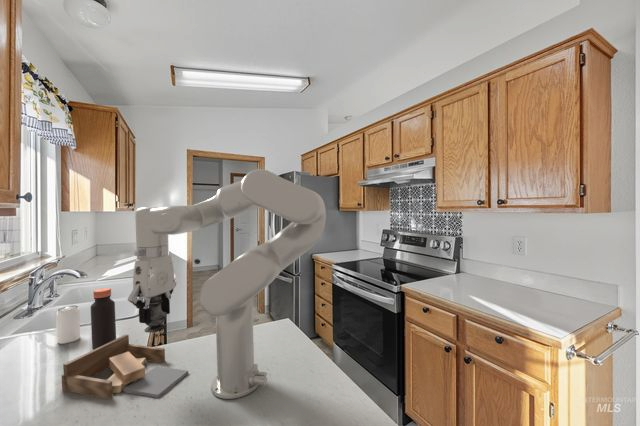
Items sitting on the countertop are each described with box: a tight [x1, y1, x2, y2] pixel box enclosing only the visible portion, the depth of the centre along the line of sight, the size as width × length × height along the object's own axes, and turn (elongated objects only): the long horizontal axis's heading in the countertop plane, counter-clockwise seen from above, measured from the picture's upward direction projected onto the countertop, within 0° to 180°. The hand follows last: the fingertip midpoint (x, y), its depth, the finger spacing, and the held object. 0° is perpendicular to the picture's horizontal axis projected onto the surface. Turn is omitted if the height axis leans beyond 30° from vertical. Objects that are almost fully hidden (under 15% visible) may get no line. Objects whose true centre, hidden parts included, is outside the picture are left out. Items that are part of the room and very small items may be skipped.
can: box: [55, 305, 81, 345], centre depth 107 cm, size 6×6×12 cm
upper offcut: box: [109, 351, 146, 385], centre depth 83 cm, size 5×14×2 cm, turn 49°
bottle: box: [90, 287, 117, 350], centre depth 102 cm, size 7×7×20 cm
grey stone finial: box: [143, 295, 168, 333], centre depth 80 cm, size 6×6×12 cm
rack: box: [61, 334, 166, 400], centre depth 85 cm, size 16×18×7 cm
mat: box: [123, 365, 189, 399], centre depth 80 cm, size 11×11×1 cm
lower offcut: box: [107, 358, 147, 394], centre depth 83 cm, size 5×14×2 cm, turn 7°
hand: (155, 317), depth 80 cm, fingers closed on grey stone finial, 5 cm apart
